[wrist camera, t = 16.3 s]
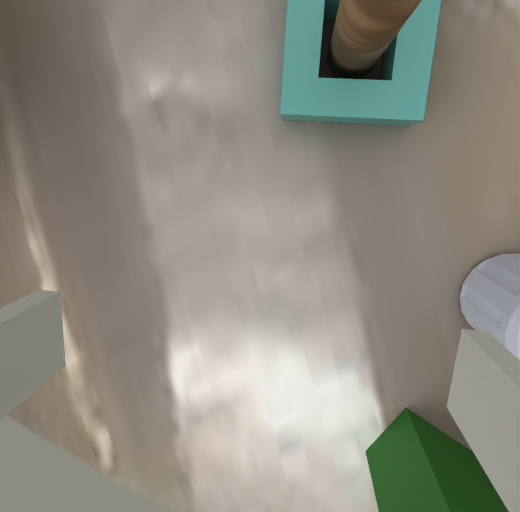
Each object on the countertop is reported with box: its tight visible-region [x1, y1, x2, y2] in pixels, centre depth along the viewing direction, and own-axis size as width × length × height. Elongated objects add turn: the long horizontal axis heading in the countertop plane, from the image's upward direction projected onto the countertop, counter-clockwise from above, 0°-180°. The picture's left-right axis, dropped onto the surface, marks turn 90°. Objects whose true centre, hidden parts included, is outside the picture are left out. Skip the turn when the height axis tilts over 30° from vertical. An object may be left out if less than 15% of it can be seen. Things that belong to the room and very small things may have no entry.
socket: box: [280, 0, 441, 126], centre depth 34 cm, size 12×12×5 cm
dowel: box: [327, 0, 422, 79], centre depth 27 cm, size 4×4×20 cm
